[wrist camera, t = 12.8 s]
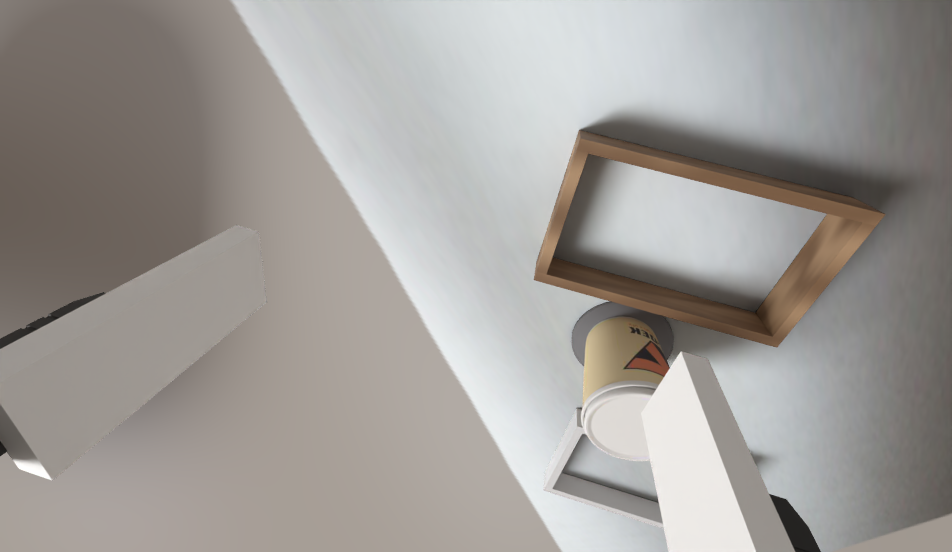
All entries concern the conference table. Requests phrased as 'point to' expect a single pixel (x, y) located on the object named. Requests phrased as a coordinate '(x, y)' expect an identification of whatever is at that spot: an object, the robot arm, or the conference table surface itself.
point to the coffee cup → (620, 385)
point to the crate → (766, 326)
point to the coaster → (615, 310)
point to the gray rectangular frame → (589, 490)
